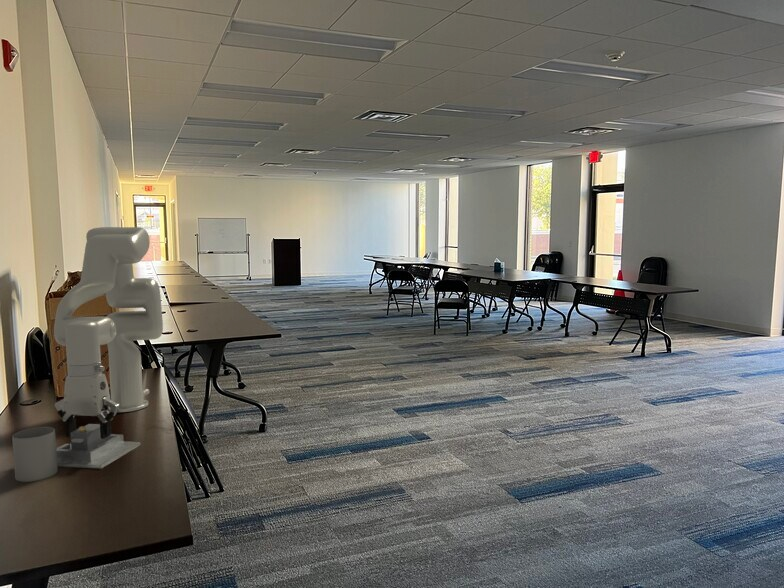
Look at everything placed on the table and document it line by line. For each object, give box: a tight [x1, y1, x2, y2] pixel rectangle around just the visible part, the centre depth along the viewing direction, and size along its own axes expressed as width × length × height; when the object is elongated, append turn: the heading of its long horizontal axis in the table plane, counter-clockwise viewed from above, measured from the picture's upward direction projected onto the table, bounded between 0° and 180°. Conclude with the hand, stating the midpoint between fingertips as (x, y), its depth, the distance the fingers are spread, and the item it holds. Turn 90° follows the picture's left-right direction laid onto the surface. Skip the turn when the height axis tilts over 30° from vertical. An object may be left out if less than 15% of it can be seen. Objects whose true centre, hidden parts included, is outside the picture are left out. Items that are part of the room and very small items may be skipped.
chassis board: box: [56, 433, 142, 469], centre depth 146 cm, size 16×18×3 cm
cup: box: [11, 426, 59, 482], centre depth 133 cm, size 8×8×10 cm
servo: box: [70, 423, 106, 450], centre depth 146 cm, size 9×4×7 cm, turn 172°
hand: (88, 436), depth 145 cm, fingers open, 9 cm apart
